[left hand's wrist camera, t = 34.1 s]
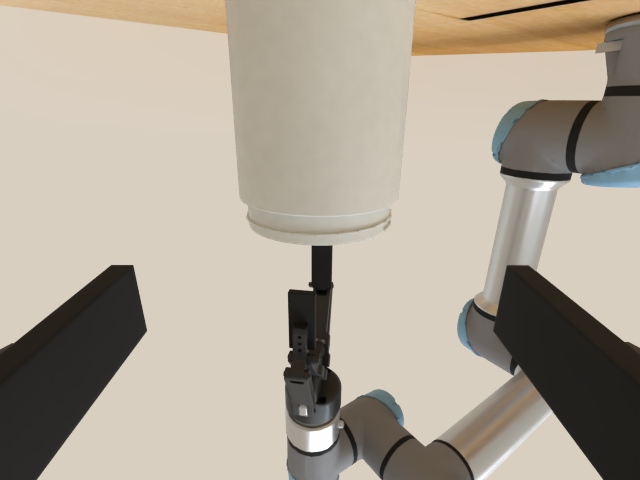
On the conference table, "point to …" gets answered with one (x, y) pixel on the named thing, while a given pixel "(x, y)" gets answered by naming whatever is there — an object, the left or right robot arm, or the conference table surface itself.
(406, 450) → the right robot arm
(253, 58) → the jar
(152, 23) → the conference table surface
